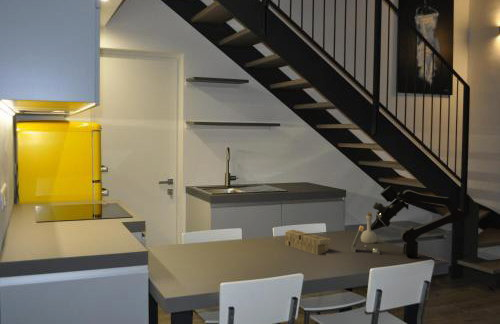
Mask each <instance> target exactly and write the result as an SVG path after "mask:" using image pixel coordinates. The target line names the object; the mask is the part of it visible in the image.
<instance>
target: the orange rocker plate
mask: <svg viewBox="0 0 500 324" xmlns="http://www.w3.org/2000/svg"><path fill="white" fill-rule="evenodd" d="M364 229H365V228H364V226H363V225H359V228H358V231H357V233H356V235H355V237H354V240H353V243H352V244H353V245H352V246H354V247H356V246H357V244H358V242H359V240H360V239H361V235H362V233H363V231H364Z"/></svg>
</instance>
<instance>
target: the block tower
mask: <svg viewBox="0 0 500 324" xmlns="http://www.w3.org/2000/svg"><path fill="white" fill-rule="evenodd" d="M284 234H285V237H284V239H285V240H284V244H285V245H286V246H290V247H292V248H295V249H298V250H301V251H304V252H308V253H311V254H314V255H317V254H318V255H323V254H322V253H324V254H327V252H328V251H329V245H330V244H331V241H332V240H331V238H328V237H323V236H320V235H316V234H310V233H309V232H308V233H307V232H304V231H300V230H296V229H290V230H286V231H285V233H284Z"/></svg>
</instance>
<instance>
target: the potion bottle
mask: <svg viewBox="0 0 500 324" xmlns="http://www.w3.org/2000/svg"><path fill="white" fill-rule="evenodd" d="M372 214H373V213H372V211H368V212H367V215H366V216H365V218H366V220H367V221H366V230H363V232H362V233H361V235H360V241H361V242H362V243H366V244H375V243H376V242H377V240H378V239H377V235H376V232H375V231H374V230H371V228H370V227H371V225H372V220H373V218H374V215H372Z"/></svg>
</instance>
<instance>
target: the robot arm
mask: <svg viewBox="0 0 500 324" xmlns="http://www.w3.org/2000/svg"><path fill="white" fill-rule="evenodd" d="M379 195H380V196H381V197H382V198H383V199H384V200H385V201H386V202H387V203H389V202H390V204H389V205H386V206H385V205H384V204H382V203H381V202H377V201H375V202H374V204H373V206H372V208H373V209H374V210H377V211H376V215H375V219H374V221H373V222H372V223H371V227H370V228H371V231H374V230H378V229H381V228H384V227H389V226H390V225H391V220H392V219H393V218H394V217H397V215H398V213H400V212H401V211H402V210H403V209H406V210H407V211H408V210H409V207H410V204H409V203H421V202H422V203H428V204H434V205H435V204H436V205H441V206H442V205H443V206H445V208H446V209H447V212H446V213H445V214H444V215H443V216H441V217H438V218H436V219H434V220H431V221H428V222H427V223H424V224H422V225H420V226H417V227H414V226H413V225H410V226H408V227H404V229H403V230H401V234H400V237H401V239H402V240H403V242H404V244H403V248H402V249H403V250H402V254H403V255H406V257H407V259H408V258H409V259H417V258H420V255H419V254H418V253H419V241H418V240H417V239H418V238H419V237H421V235H424V234H427V233H429V232H431V231H434V230H435V229H438V228H441V227H443V226H446V225H449V224H455V223H459V222H462V221H464V219H465V212H464V211H463V210H461V209H460V208H458V207H457V206H456V205H455V204H454V202H453V201H452V199H451V198H449V197H448V196H440V195H439V196H438V195H429V194H424V193H419V192H416V191H413V190H412V189H411V190H410V189H405V190H404V191H403V192H401V191H400V192H397V191H396V190H395V189H394V188H393V186H391V185H389V186H387V187H386V188H384V189H383V190H382V191H381V192H380V194H379ZM400 199H401V200H400ZM406 202H407V203H406Z"/></svg>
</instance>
